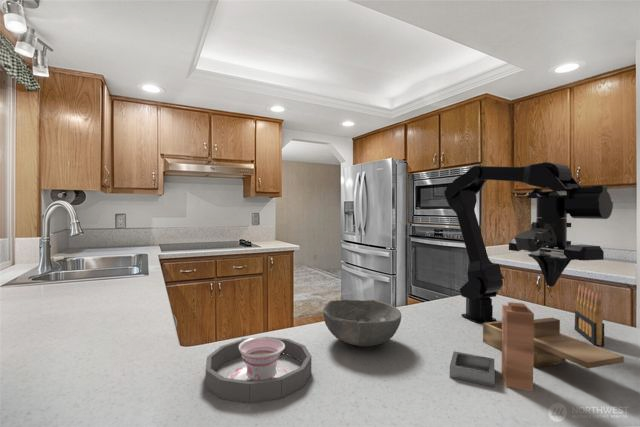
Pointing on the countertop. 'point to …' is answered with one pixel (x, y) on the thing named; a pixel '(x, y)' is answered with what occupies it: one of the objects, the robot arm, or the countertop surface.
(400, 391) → the countertop surface
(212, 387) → the coaster ring
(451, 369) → the frame
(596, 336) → the ammunition clip
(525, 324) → the reddish brown rectangular block
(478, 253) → the robot arm
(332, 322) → the bowl
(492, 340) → the light brown wooden box
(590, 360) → the lid
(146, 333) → the countertop surface
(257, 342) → the teacup
